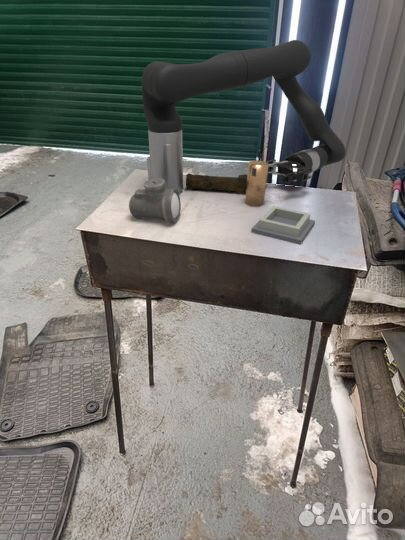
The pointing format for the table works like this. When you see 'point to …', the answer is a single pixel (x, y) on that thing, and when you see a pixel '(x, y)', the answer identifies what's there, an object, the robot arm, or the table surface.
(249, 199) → the copper cylinder
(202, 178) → the hand tool
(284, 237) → the duct flange
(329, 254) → the table surface
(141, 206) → the pipe fitting
